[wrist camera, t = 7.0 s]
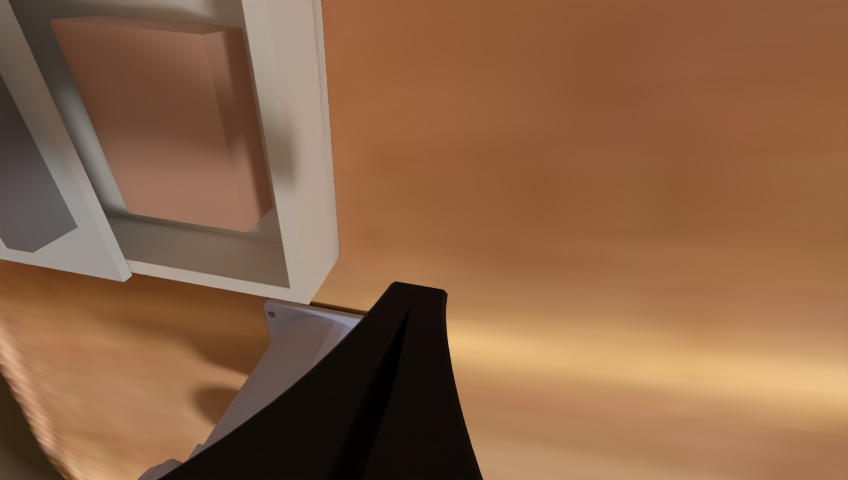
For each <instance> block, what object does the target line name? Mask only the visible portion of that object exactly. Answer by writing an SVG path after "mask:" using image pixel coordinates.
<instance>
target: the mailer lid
mask: <svg viewBox="0 0 848 480" xmlns="http://www.w3.org/2000/svg"><path fill="white" fill-rule="evenodd" d="M0 259H4V260H9V261H15V262H20V263H25V264H31V265H36V266H41V267H47V268H52V269H57V270H63V271H68V272H73V273H79V274H84V275H89V276H95V277H100V278H105V279H111V280H116V281H121V282H125V281H126V280H127V279H128V278H130V277H131V276H132V274H131V272H130V269H129V267H128V265H127V263H126V261H125V258H124V256H123V254H122V252H121V250H120V247H119V245H118V243H117V241H116V238H115V236H114V234H113V232H112V230H111V227H110V225H109V223H108V221H107V219H106V216H105V214H104V212H103V210H102V207H101V205H100V203H99V201H98V199H97V196H96V194H95V192H94V190H93V187H92V185H91V183H90V181H89V179H88V176H87V174H86V172H85V170H84V168H83V165H82V163H81V161H80V159H79V156H78V154H77V152H76V150H75V148H74V145H73V143H72V141H71V139H70V137H69V134H68V132H67V130H66V128H65V125H64V123H63V121H62V119H61V117H60V114H59V112H58V110H57V108H56V105H55V103H54V101H53V99H52V97H51V94H50V92H49V90H48V88H47V86H46V83H45V81H44V79H43V77H42V74H41V72H40V70H39V68H38V66H37V63H36V61H35V59H34V57H33V55H32V52H31V50H30V48H29V46H28V43H27V41H26V39H25V37H24V35H23V32H22V30H21V28H20V26H19V23H18V21H17V19H16V17H15V15H14V12H13V10H12V8H11V6H10V4H9V1H8V0H0Z"/></svg>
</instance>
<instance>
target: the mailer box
mask: <svg viewBox="0 0 848 480" xmlns="http://www.w3.org/2000/svg"><path fill="white" fill-rule="evenodd" d="M8 1H9V4H10V6H11V8H12V10H13V12H14V15H15V17H16V19H17V21H18V23H19V26H20V28H21V30H22V32H23V35H24V37H25V39H26V41H27V43H28V46H29V48H30V50H31V52H32V55H33V57H34V59H35V61H36V63H37V66H38V68H39V70H40V72H41V74H42V77H43V79H44V81H45V83H46V86H47V88H48V90H49V92H50V94H51V97H52V99H53V101H54V103H55V105H56V108H57V110H58V112H59V114H60V117H61V119H62V121H63V123H64V125H65V128H66V130H67V132H68V134H69V137H70V139H71V141H72V143H73V145H74V148H75V150H76V152H77V154H78V156H79V159H80V161H81V163H82V165H83V168H84V170H85V172H86V174H87V176H88V179H89V181H90V183H91V185H92V187H93V190H94V192H95V194H96V196H97V199H98V201H99V203H100V205H101V207H102V210H103V212H104V214H105V216H106V219H107V221H108V223H109V225H110V227H111V230H112V232H113V234H114V236H115V238H116V241H117V243H118V245H119V247H120V250H121V252H122V254H123V256H124V258H125V261H126V263H127V265H128V267H129V269H130V272H133V273H138V274H144V275H149V276H155V277H160V278H165V279H171V280H176V281H182V282H187V283H193V284H198V285H204V286H209V287H215V288H220V289H226V290H231V291H236V292H242V293H247V294H253V295H258V296H264V297H269V298H275V299H280V300H286V301H291V302H296V303H302V304H307V305H309V303H310V302H311V300H312V299H313V297H314V296H315V294H316V292H317V291H318V289H319V288H320V286H321V284H322V283H323V281H324V280H325V278H326V276H327V275H328V273H329V272H330V270H331V269H332V267H333V265H334V264H335V262H336V261H337V259H338V257H339V242H338V228H337V215H336V201H335V187H334V174H333V160H332V146H331V132H330V119H329V105H328V91H327V78H326V64H325V50H324V37H323V23H322V9H321V0H8Z"/></svg>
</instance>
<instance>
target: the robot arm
mask: <svg viewBox="0 0 848 480" xmlns="http://www.w3.org/2000/svg"><path fill="white" fill-rule="evenodd" d="M447 295H448V294H447V293H446V292H445V291H444V290H443V289H437V288H431V287H425V286H419V285H414V284H408V283H402V282H396V281H395V282H393V283H392V284H391V285H390V286H389V287H388V289H387V290H386V291H385V292H384V294H383V295H382V296H381V297H380V299H379V300H378V301H377V302H376V303H375V305H374V306H373V307H372V308H371V309H370V310H369V311H368V313H367V314H366V315H365V316H363V315H358V314H352V313H347V312H341V311H336V310H330V309H325V308H320V307H314V306H309V305H303V304H298V303H292V302H287V301H281V300H276V299H267V300H266V302H265V303H264V304H263V307H264V312H265V316H266V320H267V325H268V329H269V334H270V338H271V344H270V346H269V347H268V349H267V350H266V352H265V353H264V355H263V356H262V358H261V359H260V361H259V362H258V364H257V365H256V367H255V368H254V370H253V371H252V373H251V374H250V376H249V377H248V379H247V380H246V382H245V383H244V385H243V386H242V388H241V389H240V391H239V392H238V394H237V395H236V397H235V398H234V400H233V401H232V403H231V404H230V406H229V407H228V409H227V410H226V412H225V413H224V415H223V416H222V418H221V419H220V421H219V422H218V424H217V425H216V427H215V428H214V430H213V431H212V433H211V434H210V436H209V437H208V439H207V440H206V442H205V443H204V445H202V444H198V445H197V447H196V448H195V449H194V451H193V452H192V454H191V455H190V457H189V458H188V460H187V461H186V462H184V463H182V462H180V461H178V460H176V459H169V460H167V461H166V462H164V463H162V464H159V465H156V466H154V467H151V468H149V469H148V470H147V471H146V472H145V473H144V474H143V475H142V476H141V477H140V478H139V479H138V480H483V478H482V475H481V472H480V469H479V466H478V463H477V460H476V457H475V454H474V451H473V448H472V445H471V441H470V438H469V434H468V431H467V428H466V424H465V421H464V417H463V413H462V410H461V406H460V402H459V397H458V393H457V389H456V384H455V380H454V375H453V370H452V364H451V358H450V352H449V346H448V338H447V327H446V303H447Z"/></svg>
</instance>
